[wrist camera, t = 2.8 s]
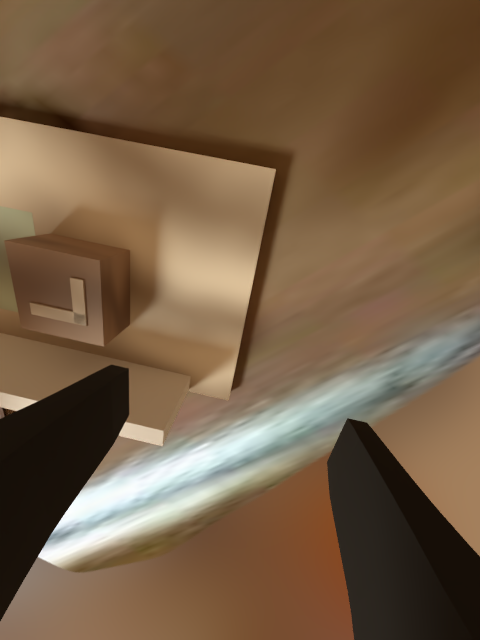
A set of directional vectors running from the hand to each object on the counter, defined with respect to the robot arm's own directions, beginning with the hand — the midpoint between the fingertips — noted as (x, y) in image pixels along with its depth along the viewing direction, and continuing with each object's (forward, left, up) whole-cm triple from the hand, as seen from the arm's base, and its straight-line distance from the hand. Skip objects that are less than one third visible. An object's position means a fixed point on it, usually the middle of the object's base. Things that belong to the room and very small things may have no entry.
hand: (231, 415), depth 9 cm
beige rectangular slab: (-6, +11, -9) cm, 16 cm away
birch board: (0, +11, -10) cm, 15 cm away
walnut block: (0, +10, -9) cm, 13 cm away
